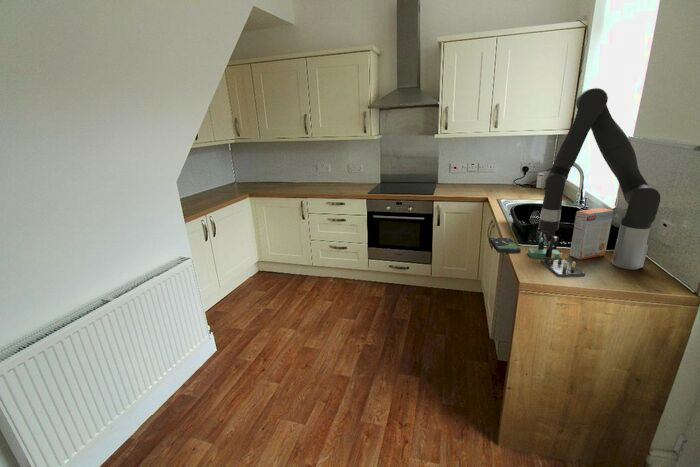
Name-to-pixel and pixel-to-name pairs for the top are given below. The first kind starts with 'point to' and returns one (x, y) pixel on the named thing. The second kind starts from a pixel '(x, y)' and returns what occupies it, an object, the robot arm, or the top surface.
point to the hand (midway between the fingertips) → (544, 254)
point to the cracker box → (591, 233)
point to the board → (542, 253)
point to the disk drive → (504, 245)
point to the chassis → (562, 267)
